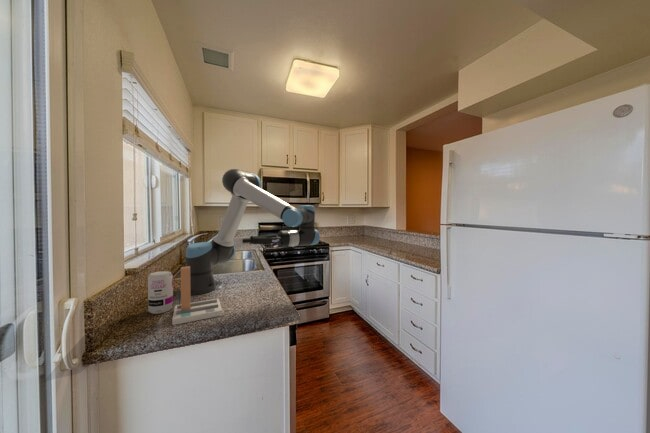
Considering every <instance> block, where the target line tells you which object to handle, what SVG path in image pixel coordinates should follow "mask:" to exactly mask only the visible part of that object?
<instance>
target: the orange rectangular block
mask: <svg viewBox="0 0 650 433" xmlns="http://www.w3.org/2000/svg"><path fill="white" fill-rule="evenodd" d="M191 297H192V295H191V293H190V266H186V265H185V266H181V267H180V305H181V310H187V309H191V303H192V302H191V301H192V300H191Z"/></svg>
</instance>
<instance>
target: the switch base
mask: <svg viewBox="0 0 650 433" xmlns="http://www.w3.org/2000/svg"><path fill="white" fill-rule="evenodd" d="M173 309H174V310H173V315H172V321H171V322H172V323H171V325H172V326H174V325H180V324H185V323H190V322H195V321H196V322H197V321H201V320H207V319H210V318H216V317H221V316H223V309H222V305H221V302H220V299H219V298H213V299H206V300H200V301H194V302H191V309H187V310H181V304H176V305H175V306H174V308H173Z"/></svg>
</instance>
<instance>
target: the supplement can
mask: <svg viewBox="0 0 650 433" xmlns="http://www.w3.org/2000/svg"><path fill="white" fill-rule="evenodd" d="M173 280H174V276H173V274H172V272H171V271H170V270H160V271H155V272H151V273H149V276H148V278H147V303H148V304H147V306H148V308H147V311H148V313H150V314H153V315H159V314H163V313H167V312H168V311H171V310H172V308H174V281H173Z"/></svg>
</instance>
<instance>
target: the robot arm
mask: <svg viewBox="0 0 650 433" xmlns="http://www.w3.org/2000/svg"><path fill="white" fill-rule="evenodd" d="M221 180H222V181H221V182H222V185H223V187H224V189H225V190H226V191H227V192H229V193H230V195H231V198H230V202H229V204H228V206H227V210H226V212H225V214H224V217H223V220H222V221H221V225H220V226H219V230H218V233H217V234H216V235H215V236H212V237H213V238H212V240H211V242H210V241H200V242H195V243H191V244H189V245H187V246H186V248H185V255H184V256H185V267H186V266H190V293H191V296H194V295H202V294H207V293H210V292H214V291H215V289H216V288H217V283H216V280H215V277H214V274H213V266H216V265H220V264H225V263H228V262H229V261H231V260H232V259H233V258H234V257H235V255H236V247H235V245H267V244H268V245H278V247H280V248H284V247H285V248H287V247H292V248H295V247H300V246H301V247H304V246H314V245H315V246H316V245H317V244H319V242H320V239H321V235H320V232H319V230H317V229H316V227H315V225H316V222H315V221H316V219H315V217H316V211H315V210H316V209H315V206H314V205H311V204H309V205H307V204H305V205H300V206H299V208H297V207H295V206H293V205H291V204H289V203H288V202H286V201H284V200H282V199H281V198H279V197H277V196H275V195H274V194H271V193H270V192H268V191H267V190H264V189H263V188H262V181H261V178H260V177H259V176H258V175H257V174H256V173H253V172H251V171H247V170H246V171H245V170H241V169H238V168H232V169H228V170H227V171H225V172H224V174H223V175H222V179H221ZM250 202H251V203H253V205H256V206H258V207H259V208H261V209H263V210H264V211H267V213H269V214H272V215H273V216H275V217H276V218H278V219H280V220H282V222H283V224H284V225H285V226H287V227H290V228H297V227H298V228H299V229H288V230H279V231H278V232H277V235H276V234H275V233H274V234H266V235H255V236H254V235H251V236H243V237H242V236H240V237H236V233H237V231H238V230H239V226H240V223H241V221H242V219H243V216H244V213H245V211H246V208H247V206H248V203H250Z"/></svg>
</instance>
